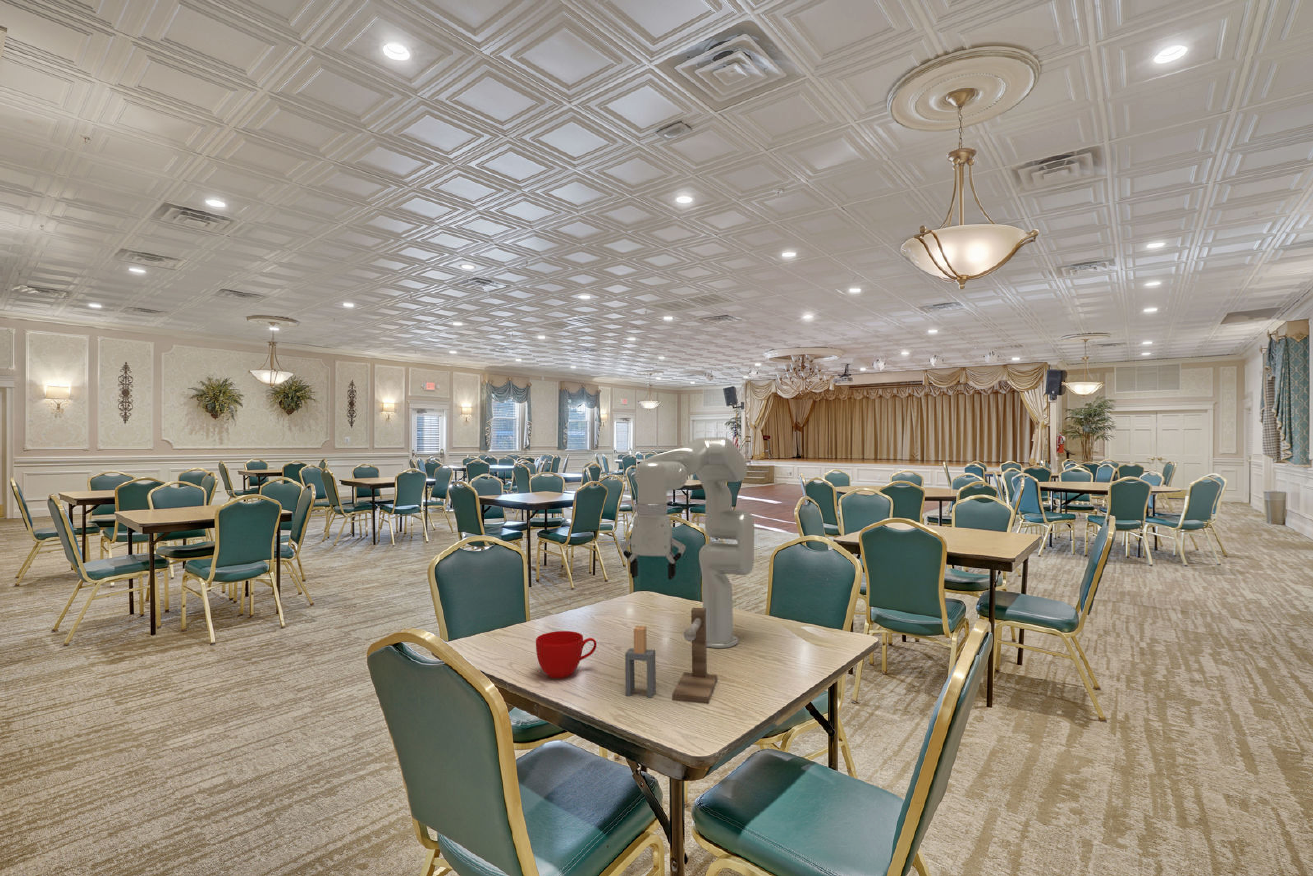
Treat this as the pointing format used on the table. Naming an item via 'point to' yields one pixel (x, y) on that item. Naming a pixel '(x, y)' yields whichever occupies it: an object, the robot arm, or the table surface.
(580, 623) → the table surface
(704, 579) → the robot arm
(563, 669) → the ceramic cup
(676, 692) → the hook stand
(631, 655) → the grey arch stand
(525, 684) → the table surface
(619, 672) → the table surface
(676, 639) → the table surface
